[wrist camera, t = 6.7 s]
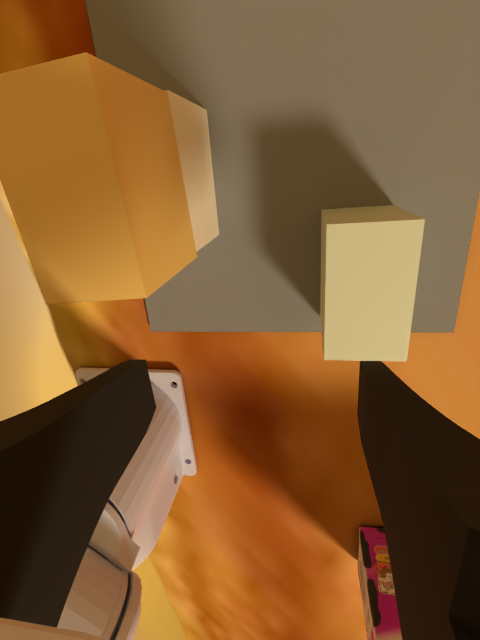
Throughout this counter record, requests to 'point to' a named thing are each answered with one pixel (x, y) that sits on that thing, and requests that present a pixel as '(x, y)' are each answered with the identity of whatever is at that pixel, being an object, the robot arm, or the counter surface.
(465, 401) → the counter surface
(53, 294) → the mustard block
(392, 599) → the candy bar box
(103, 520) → the robot arm
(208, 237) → the cream block
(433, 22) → the rubber mat
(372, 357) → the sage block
